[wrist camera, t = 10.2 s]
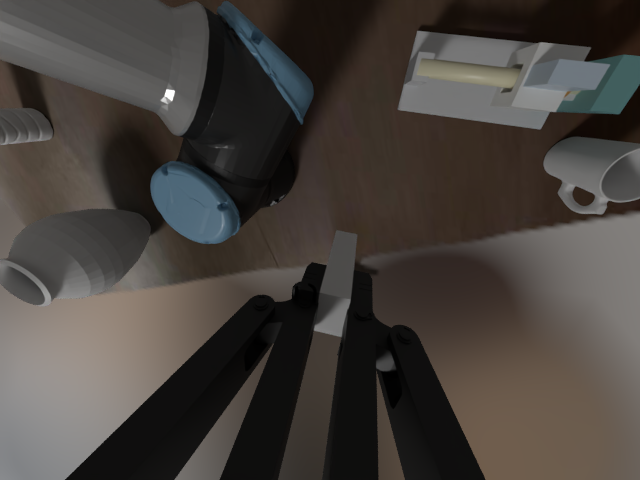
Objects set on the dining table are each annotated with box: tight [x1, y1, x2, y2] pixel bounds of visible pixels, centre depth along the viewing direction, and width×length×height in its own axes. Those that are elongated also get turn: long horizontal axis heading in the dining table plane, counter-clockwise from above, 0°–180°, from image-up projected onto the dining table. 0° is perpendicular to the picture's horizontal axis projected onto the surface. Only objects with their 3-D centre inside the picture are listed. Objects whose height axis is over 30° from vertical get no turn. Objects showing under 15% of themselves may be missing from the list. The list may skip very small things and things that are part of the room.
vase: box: [0, 209, 151, 306], centre depth 52 cm, size 18×18×25 cm
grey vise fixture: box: [397, 31, 640, 129], centre depth 31 cm, size 22×10×12 cm, turn 83°
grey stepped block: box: [490, 42, 610, 112], centre depth 27 cm, size 5×6×10 cm
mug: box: [544, 137, 640, 214], centre depth 35 cm, size 10×7×12 cm, turn 177°
